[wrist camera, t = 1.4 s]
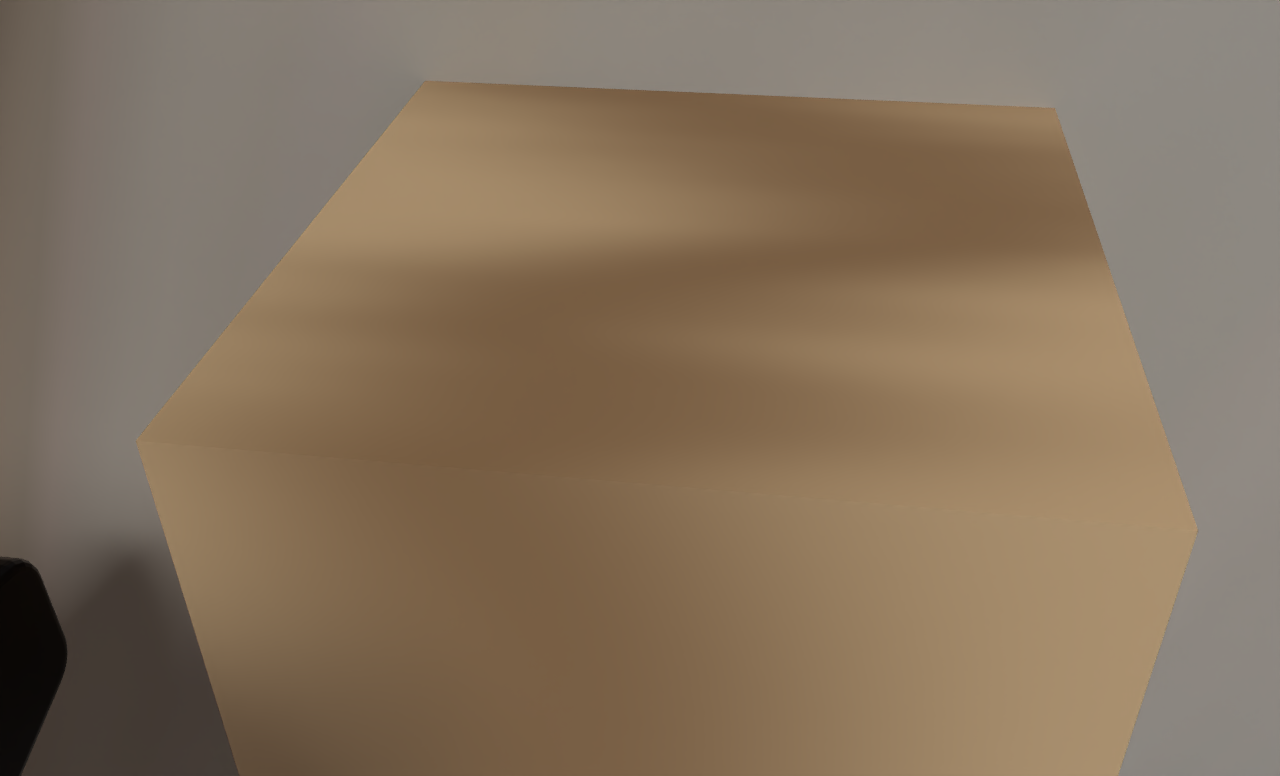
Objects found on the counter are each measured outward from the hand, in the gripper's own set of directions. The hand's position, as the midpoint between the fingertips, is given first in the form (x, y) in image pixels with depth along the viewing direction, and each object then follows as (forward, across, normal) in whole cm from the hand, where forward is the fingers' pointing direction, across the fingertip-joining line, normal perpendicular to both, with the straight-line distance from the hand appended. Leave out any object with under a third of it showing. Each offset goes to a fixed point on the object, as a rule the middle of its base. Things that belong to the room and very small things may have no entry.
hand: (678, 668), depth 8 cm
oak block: (+4, 0, 0) cm, 4 cm away
